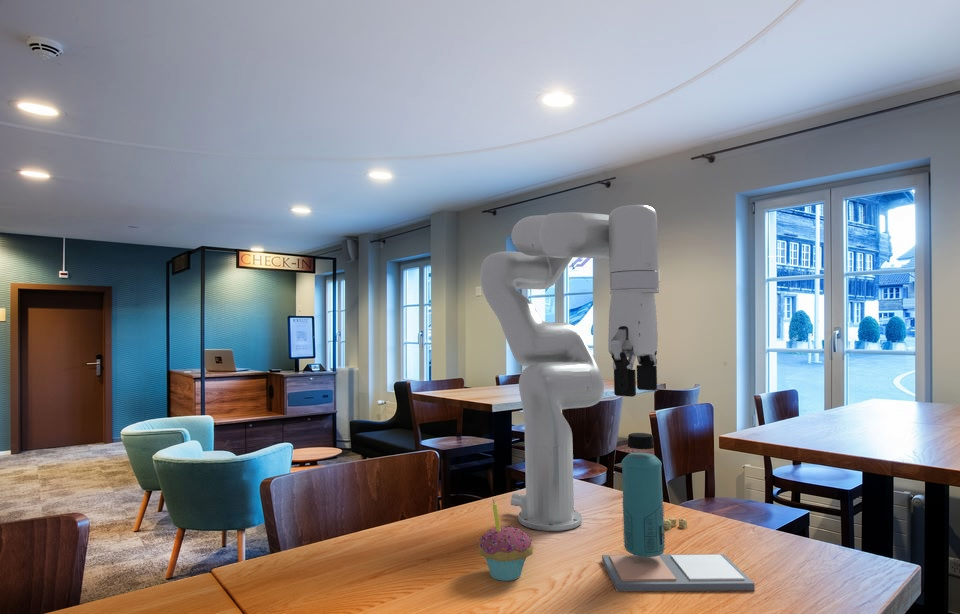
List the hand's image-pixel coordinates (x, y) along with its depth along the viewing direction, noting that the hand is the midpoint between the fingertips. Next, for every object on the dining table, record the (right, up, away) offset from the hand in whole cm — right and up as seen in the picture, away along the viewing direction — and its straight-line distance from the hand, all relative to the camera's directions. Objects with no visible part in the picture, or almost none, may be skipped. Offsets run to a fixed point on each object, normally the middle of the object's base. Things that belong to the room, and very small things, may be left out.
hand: (636, 392), depth 91 cm
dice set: (+12, -30, +21) cm, 38 cm away
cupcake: (-21, -29, 0) cm, 35 cm away
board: (+5, -28, -1) cm, 29 cm away
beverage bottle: (+2, -27, +2) cm, 27 cm away
